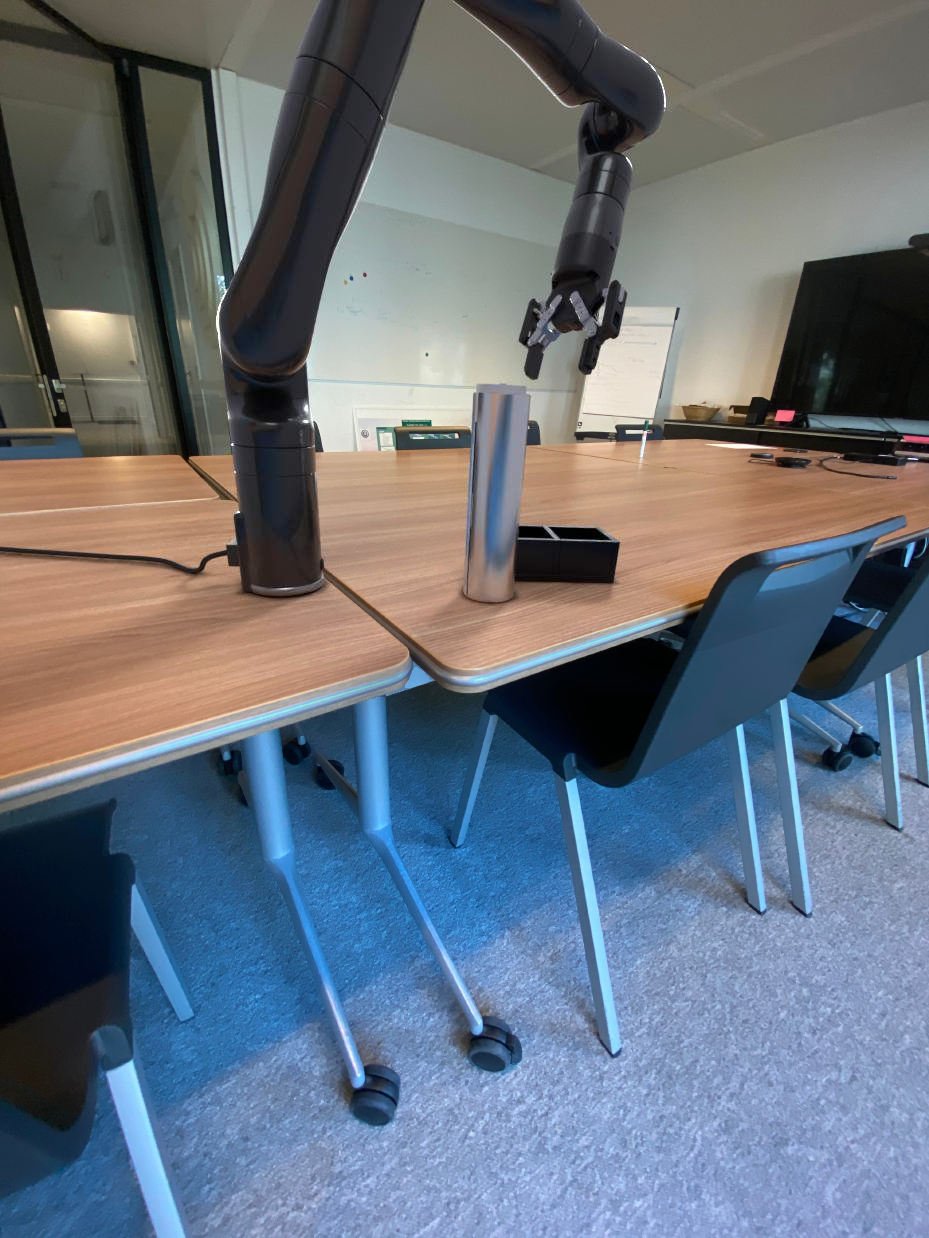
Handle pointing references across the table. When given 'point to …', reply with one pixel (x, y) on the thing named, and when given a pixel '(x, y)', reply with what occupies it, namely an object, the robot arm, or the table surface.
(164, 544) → the table surface
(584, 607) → the table surface
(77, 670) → the table surface
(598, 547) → the open box with compartments
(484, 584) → the metallic silver cylinder
